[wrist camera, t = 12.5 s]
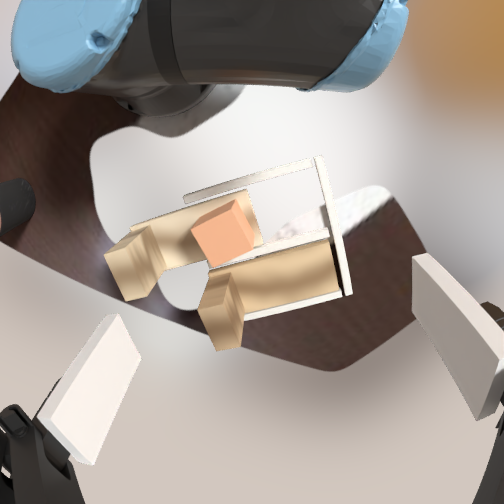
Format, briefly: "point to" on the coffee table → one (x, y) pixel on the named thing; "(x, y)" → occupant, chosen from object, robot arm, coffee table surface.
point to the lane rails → (291, 240)
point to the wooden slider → (166, 245)
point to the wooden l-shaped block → (263, 288)
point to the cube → (224, 233)
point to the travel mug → (15, 204)
